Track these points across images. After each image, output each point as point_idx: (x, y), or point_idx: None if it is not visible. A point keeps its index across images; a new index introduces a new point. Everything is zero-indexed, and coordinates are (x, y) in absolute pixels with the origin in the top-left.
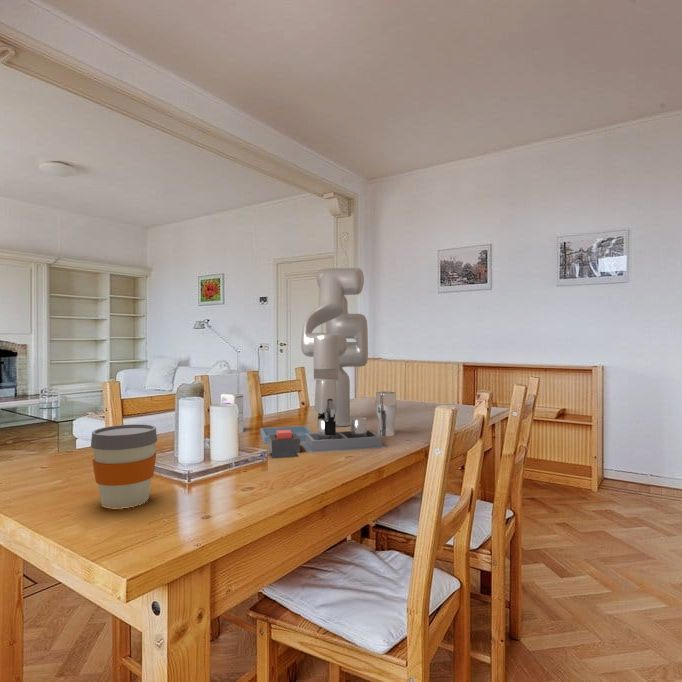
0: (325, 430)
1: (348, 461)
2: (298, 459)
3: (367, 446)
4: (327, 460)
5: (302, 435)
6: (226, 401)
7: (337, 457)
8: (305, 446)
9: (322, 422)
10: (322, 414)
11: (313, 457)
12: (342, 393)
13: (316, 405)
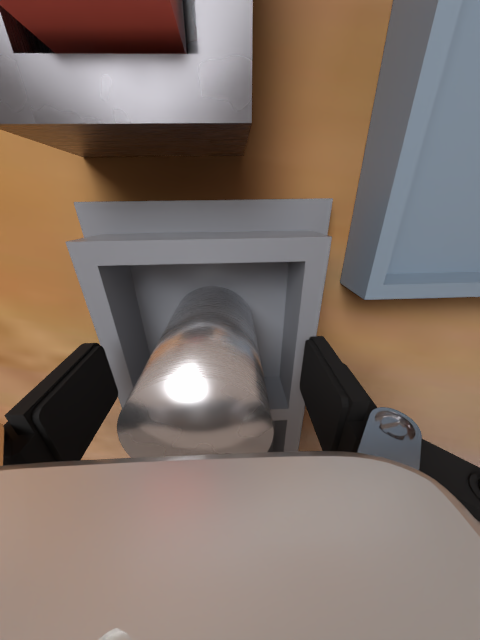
0: (66, 364)
1: (9, 357)
2: (7, 132)
3: None
4: (11, 286)
5: (382, 222)
6: None
7: (71, 332)
8: (230, 217)
9: (134, 390)
10: (350, 449)
11: (63, 231)
12: None
13: (220, 612)
